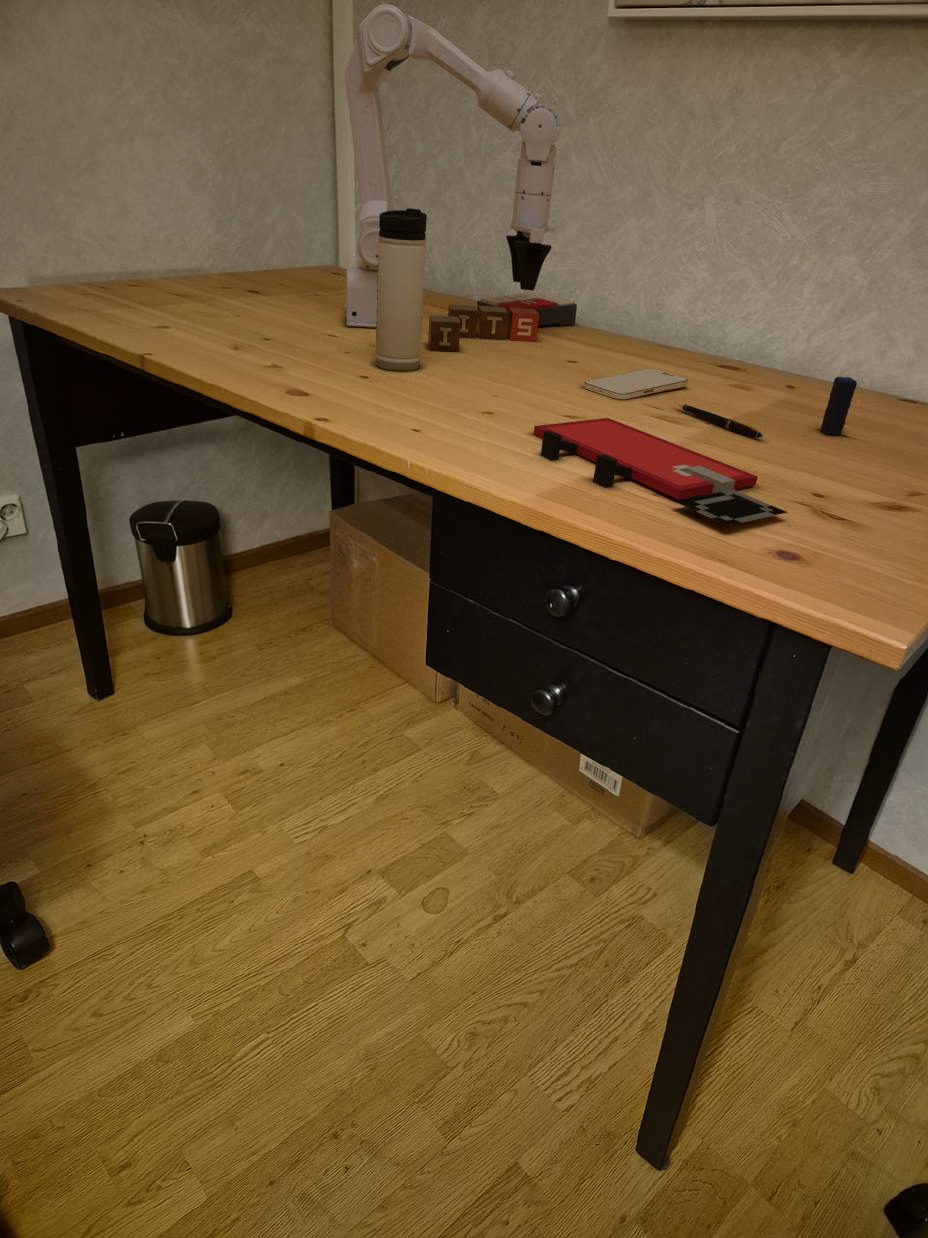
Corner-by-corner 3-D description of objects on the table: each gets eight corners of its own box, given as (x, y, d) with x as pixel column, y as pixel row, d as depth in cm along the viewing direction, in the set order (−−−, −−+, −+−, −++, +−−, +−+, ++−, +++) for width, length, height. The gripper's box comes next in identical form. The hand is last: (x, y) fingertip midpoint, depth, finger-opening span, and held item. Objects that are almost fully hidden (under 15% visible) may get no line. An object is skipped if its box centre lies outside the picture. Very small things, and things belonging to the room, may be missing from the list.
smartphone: (581, 381, 118) (651, 367, 127) (580, 389, 119) (649, 375, 127) (621, 394, 113) (691, 379, 122) (620, 403, 114) (690, 387, 123)
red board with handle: (710, 538, 75) (816, 514, 83) (717, 508, 73) (824, 486, 81) (506, 441, 96) (606, 429, 104) (509, 416, 95) (609, 406, 103)
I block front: (430, 350, 131) (431, 320, 129) (428, 344, 135) (429, 315, 133) (458, 352, 132) (460, 322, 130) (455, 345, 136) (457, 316, 134)
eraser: (818, 430, 108) (834, 375, 105) (835, 431, 109) (851, 376, 105) (825, 435, 107) (841, 380, 103) (842, 436, 107) (859, 381, 103)
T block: (479, 338, 142) (481, 310, 140) (476, 332, 146) (478, 305, 144) (505, 339, 143) (508, 312, 140) (501, 334, 146) (504, 307, 144)
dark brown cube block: (449, 336, 141) (451, 308, 139) (447, 331, 145) (448, 303, 143) (476, 338, 142) (478, 310, 140) (472, 332, 146) (474, 305, 144)
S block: (510, 340, 143) (513, 312, 141) (506, 334, 147) (508, 307, 144) (536, 341, 143) (539, 313, 141) (531, 335, 147) (534, 308, 145)
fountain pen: (670, 409, 112) (673, 397, 111) (677, 408, 113) (679, 396, 112) (758, 442, 102) (761, 429, 101) (764, 440, 103) (768, 428, 102)
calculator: (476, 296, 156) (538, 289, 164) (475, 321, 158) (536, 312, 166) (515, 307, 149) (578, 299, 157) (514, 333, 151) (576, 324, 159)
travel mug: (428, 365, 123) (436, 211, 113) (406, 373, 118) (413, 212, 108) (390, 358, 125) (395, 206, 115) (367, 366, 120) (370, 207, 110)
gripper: (567, 199, 129) (555, 294, 135) (549, 192, 141) (539, 280, 148) (521, 195, 128) (511, 291, 135) (507, 189, 140) (498, 277, 147)
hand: (523, 285), depth 141 cm, fingers open, 7 cm apart
